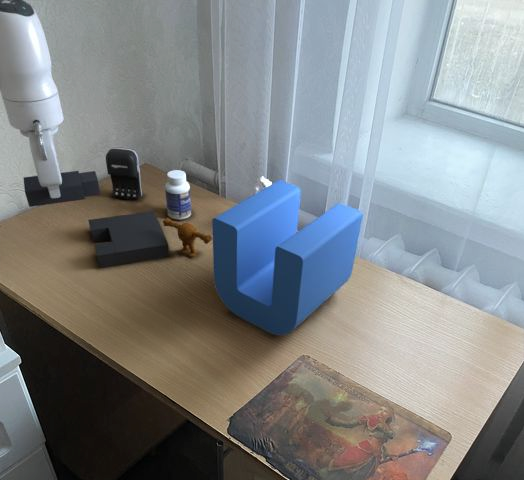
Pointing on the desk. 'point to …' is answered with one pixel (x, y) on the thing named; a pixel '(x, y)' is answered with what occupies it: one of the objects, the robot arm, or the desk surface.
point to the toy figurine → (187, 236)
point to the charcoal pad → (62, 188)
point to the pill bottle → (178, 195)
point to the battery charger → (124, 173)
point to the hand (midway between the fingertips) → (54, 187)
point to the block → (281, 257)
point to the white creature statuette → (261, 184)
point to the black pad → (128, 239)
